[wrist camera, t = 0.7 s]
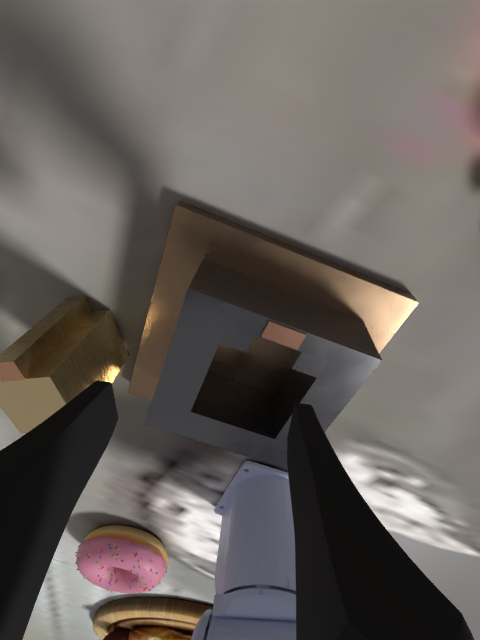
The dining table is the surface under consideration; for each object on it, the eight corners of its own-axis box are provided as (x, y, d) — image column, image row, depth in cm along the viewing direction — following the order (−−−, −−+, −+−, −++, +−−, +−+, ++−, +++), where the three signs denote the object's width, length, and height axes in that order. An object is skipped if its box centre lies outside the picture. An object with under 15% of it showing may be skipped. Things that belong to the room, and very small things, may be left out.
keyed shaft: (129, 355, 24) (81, 431, 18) (81, 359, 25) (19, 434, 19) (103, 293, 21) (36, 359, 15) (50, 300, 22) (-34, 365, 16)
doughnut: (187, 557, 41) (179, 598, 38) (118, 565, 44) (105, 603, 41) (142, 512, 36) (128, 554, 33) (68, 524, 39) (48, 564, 36)
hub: (302, 439, 27) (308, 498, 23) (132, 383, 25) (103, 436, 21) (412, 294, 19) (452, 342, 15) (180, 201, 18) (150, 224, 13)
